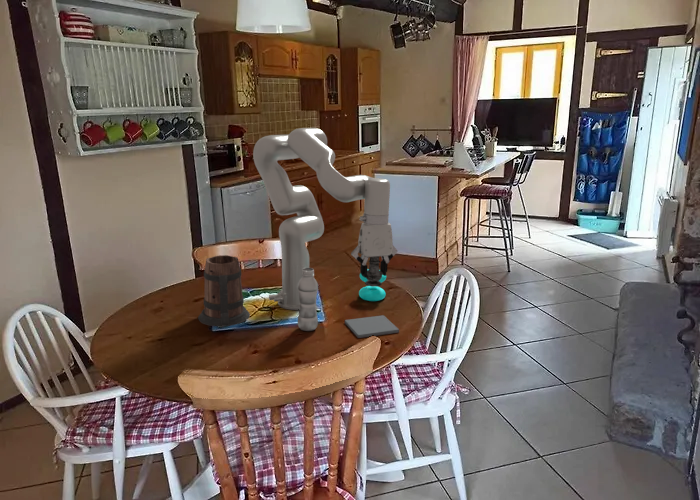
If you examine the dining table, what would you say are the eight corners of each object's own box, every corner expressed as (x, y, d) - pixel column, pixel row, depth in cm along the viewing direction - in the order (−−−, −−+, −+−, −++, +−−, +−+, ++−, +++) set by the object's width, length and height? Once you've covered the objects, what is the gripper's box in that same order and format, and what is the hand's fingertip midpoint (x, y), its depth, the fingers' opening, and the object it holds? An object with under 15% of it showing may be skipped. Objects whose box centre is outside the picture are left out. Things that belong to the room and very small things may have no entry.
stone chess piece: (381, 287, 161) (383, 250, 158) (362, 285, 162) (364, 248, 159) (383, 281, 166) (385, 245, 163) (365, 279, 168) (367, 243, 164)
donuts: (361, 267, 197) (388, 269, 196) (360, 291, 200) (386, 293, 199) (357, 275, 188) (385, 277, 186) (356, 301, 191) (383, 303, 189)
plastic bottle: (302, 334, 162) (302, 274, 156) (294, 326, 167) (294, 267, 162) (321, 331, 164) (322, 271, 159) (312, 323, 170) (313, 265, 165)
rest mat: (358, 338, 161) (358, 335, 160) (344, 322, 171) (344, 320, 171) (398, 332, 165) (399, 329, 165) (383, 317, 176) (383, 315, 176)
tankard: (198, 308, 180) (195, 252, 174) (248, 304, 184) (246, 250, 178) (196, 337, 158) (193, 275, 152) (253, 332, 162) (251, 272, 157)
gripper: (354, 223, 152) (352, 281, 157) (406, 220, 158) (403, 276, 163) (345, 218, 159) (343, 274, 164) (396, 215, 165) (393, 269, 170)
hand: (373, 274), depth 163 cm, fingers closed on stone chess piece, 5 cm apart
